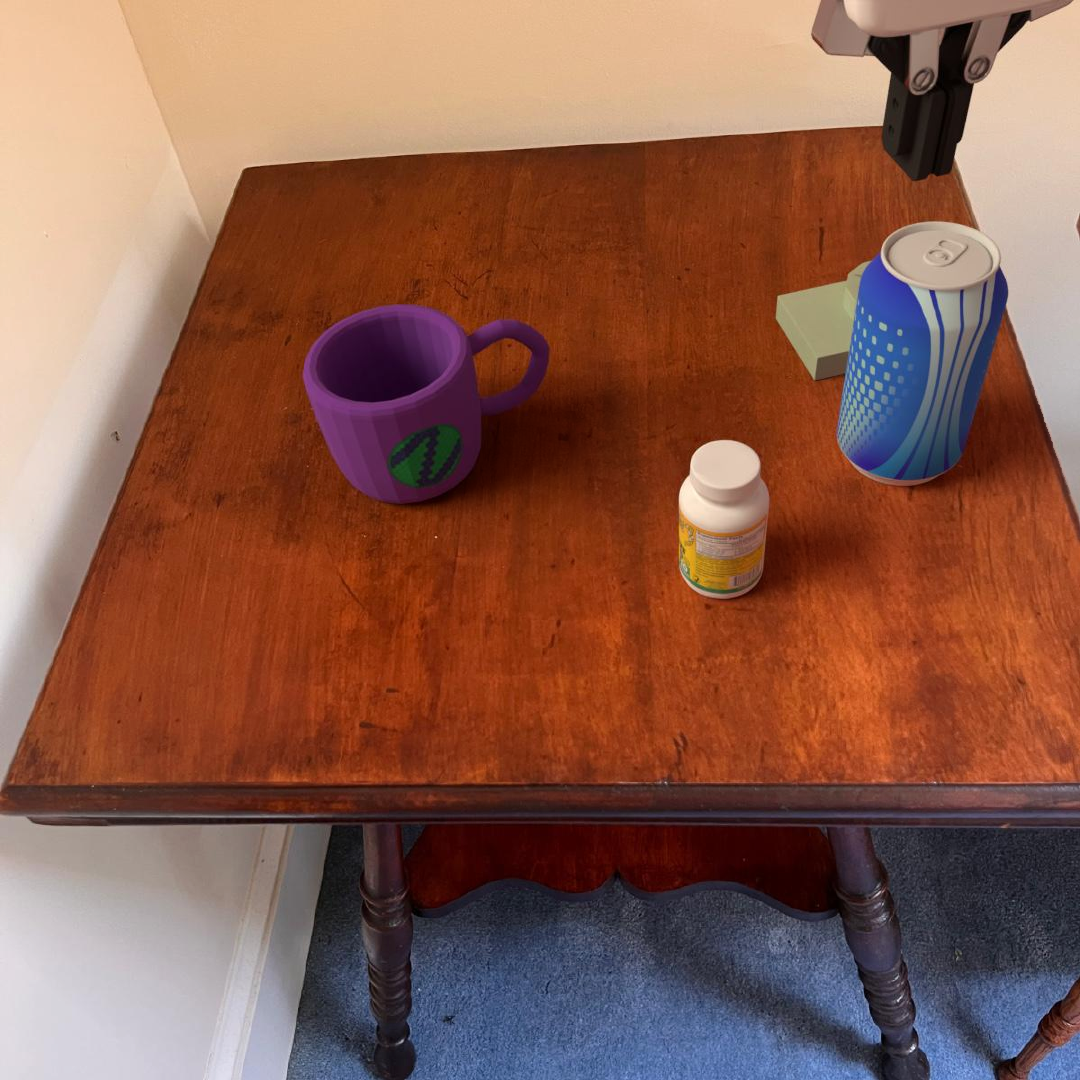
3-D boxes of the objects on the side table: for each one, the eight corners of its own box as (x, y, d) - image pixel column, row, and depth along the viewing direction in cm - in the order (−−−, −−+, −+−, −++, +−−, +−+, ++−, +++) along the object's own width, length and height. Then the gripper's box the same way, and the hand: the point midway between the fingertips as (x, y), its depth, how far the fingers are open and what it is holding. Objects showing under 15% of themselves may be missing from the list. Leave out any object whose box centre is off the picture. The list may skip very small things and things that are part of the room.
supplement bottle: (754, 608, 64) (764, 505, 57) (670, 593, 66) (668, 490, 59) (769, 544, 68) (780, 438, 60) (688, 530, 69) (689, 425, 62)
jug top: (905, 289, 83) (914, 246, 80) (953, 349, 78) (964, 305, 75) (775, 318, 83) (778, 276, 80) (814, 381, 77) (819, 338, 74)
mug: (367, 540, 71) (330, 435, 64) (318, 442, 78) (279, 337, 71) (589, 447, 75) (580, 338, 68) (524, 362, 82) (508, 254, 75)
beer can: (981, 483, 69) (1044, 282, 57) (857, 504, 69) (895, 307, 57) (932, 401, 75) (981, 202, 63) (818, 420, 75) (845, 225, 62)
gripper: (838, -315, 29) (787, 243, 43) (1322, -404, 30) (1121, 170, 44) (747, -357, 34) (727, 157, 48) (1166, -432, 35) (1029, 92, 49)
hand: (916, 162), depth 46 cm, fingers closed
